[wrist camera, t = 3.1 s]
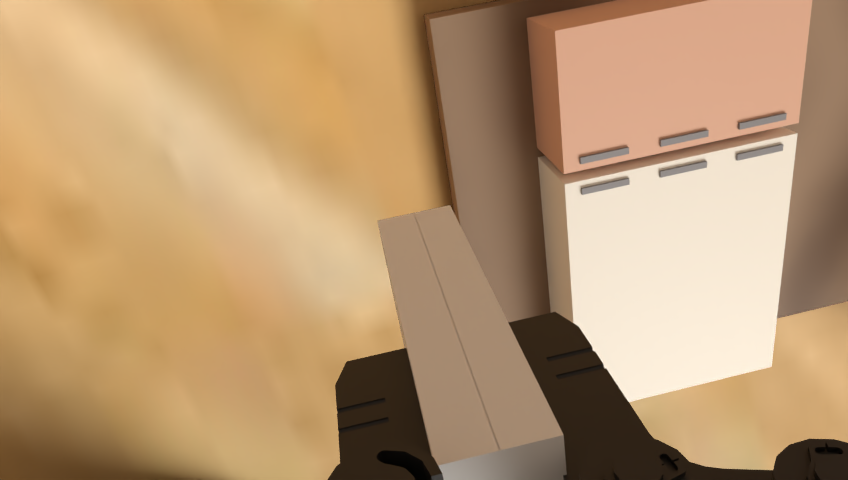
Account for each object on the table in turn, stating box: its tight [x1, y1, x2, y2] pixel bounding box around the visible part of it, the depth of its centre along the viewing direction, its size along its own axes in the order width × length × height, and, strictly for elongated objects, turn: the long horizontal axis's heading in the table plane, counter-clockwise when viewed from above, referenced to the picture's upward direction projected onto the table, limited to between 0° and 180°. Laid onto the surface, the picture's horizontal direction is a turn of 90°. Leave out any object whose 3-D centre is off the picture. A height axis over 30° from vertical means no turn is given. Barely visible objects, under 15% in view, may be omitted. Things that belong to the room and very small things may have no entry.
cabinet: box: [526, 0, 812, 174], centre depth 24 cm, size 9×5×3 cm, turn 99°
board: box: [424, 0, 848, 322], centre depth 28 cm, size 22×17×3 cm
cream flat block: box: [538, 127, 798, 402], centre depth 28 cm, size 9×11×3 cm
